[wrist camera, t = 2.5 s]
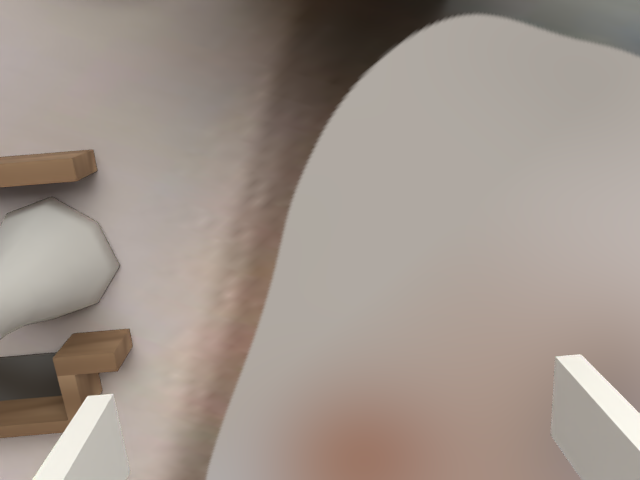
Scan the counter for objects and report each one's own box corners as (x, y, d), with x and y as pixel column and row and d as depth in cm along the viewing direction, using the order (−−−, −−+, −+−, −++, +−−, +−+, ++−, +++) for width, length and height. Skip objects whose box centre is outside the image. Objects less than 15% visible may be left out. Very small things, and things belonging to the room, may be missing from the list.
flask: (58, 334, 34) (-35, 438, 24) (-34, 249, 32) (-173, 326, 23) (142, 265, 33) (79, 346, 23) (53, 173, 31) (-56, 220, 21)
